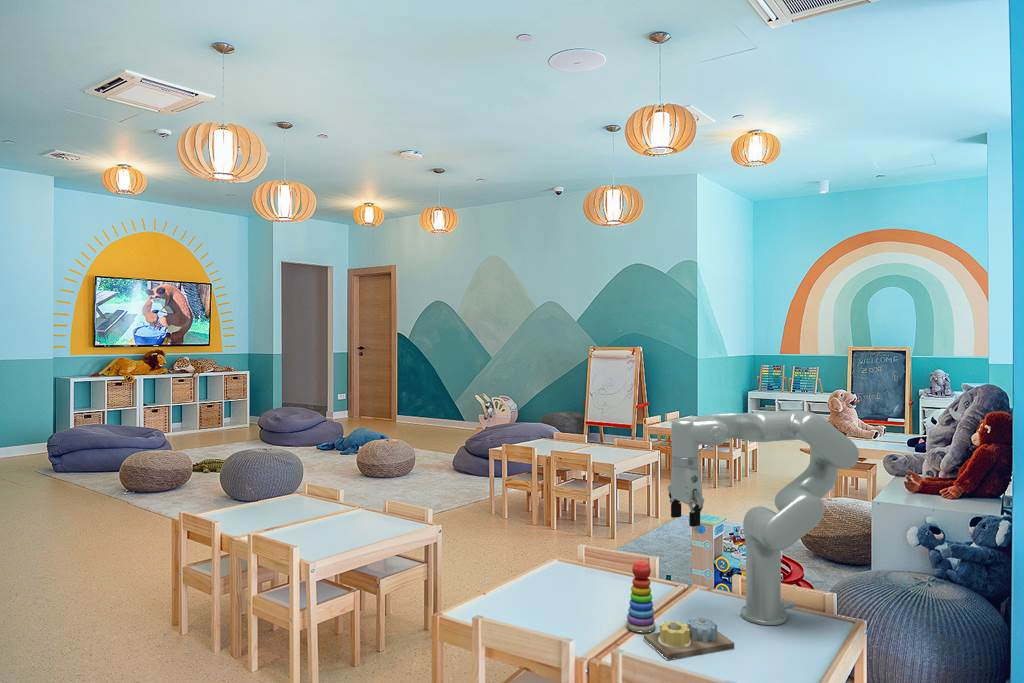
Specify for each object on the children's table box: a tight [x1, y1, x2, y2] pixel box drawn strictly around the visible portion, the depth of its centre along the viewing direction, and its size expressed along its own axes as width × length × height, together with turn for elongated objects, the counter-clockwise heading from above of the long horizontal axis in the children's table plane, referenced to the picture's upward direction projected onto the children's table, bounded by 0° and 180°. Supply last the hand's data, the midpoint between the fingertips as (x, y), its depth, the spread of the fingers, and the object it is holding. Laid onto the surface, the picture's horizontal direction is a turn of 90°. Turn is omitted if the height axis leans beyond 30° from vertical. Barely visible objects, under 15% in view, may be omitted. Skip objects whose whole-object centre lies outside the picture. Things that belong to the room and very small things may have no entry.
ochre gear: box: [659, 620, 690, 647], centre depth 183 cm, size 8×8×4 cm
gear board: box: [643, 617, 735, 660], centre depth 185 cm, size 20×12×6 cm, turn 108°
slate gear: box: [687, 617, 718, 643], centre depth 186 cm, size 8×8×4 cm
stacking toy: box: [626, 560, 656, 633], centre depth 195 cm, size 8×8×19 cm
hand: (685, 521), depth 200 cm, fingers open, 9 cm apart
